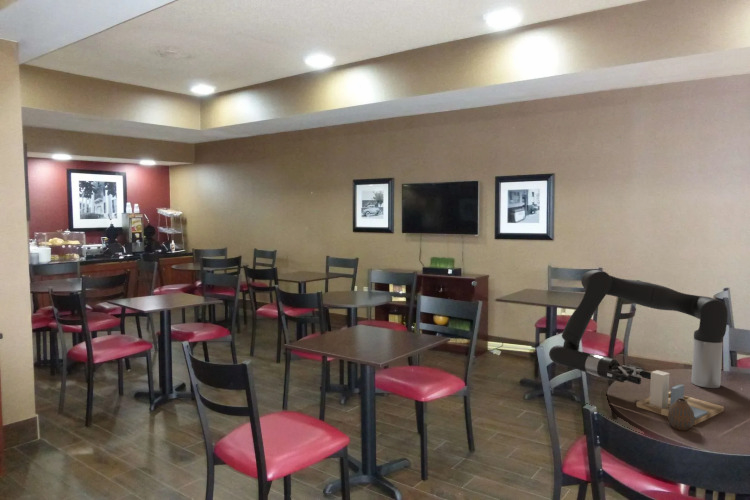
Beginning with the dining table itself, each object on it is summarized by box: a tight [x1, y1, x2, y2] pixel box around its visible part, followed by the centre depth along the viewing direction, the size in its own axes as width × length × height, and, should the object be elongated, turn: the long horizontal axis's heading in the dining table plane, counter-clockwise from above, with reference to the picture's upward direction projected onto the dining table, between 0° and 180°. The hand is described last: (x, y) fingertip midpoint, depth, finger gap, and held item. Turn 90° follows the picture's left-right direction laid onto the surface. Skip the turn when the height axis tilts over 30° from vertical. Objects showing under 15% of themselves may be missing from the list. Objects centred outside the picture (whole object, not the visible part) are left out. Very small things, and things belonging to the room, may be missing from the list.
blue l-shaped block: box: [670, 383, 708, 419], centre depth 161 cm, size 8×8×7 cm
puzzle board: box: [636, 390, 725, 426], centre depth 169 cm, size 20×18×2 cm
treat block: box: [649, 369, 671, 409], centre depth 168 cm, size 4×4×12 cm
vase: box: [667, 398, 695, 431], centre depth 154 cm, size 7×7×9 cm
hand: (647, 379), depth 171 cm, fingers open, 8 cm apart
